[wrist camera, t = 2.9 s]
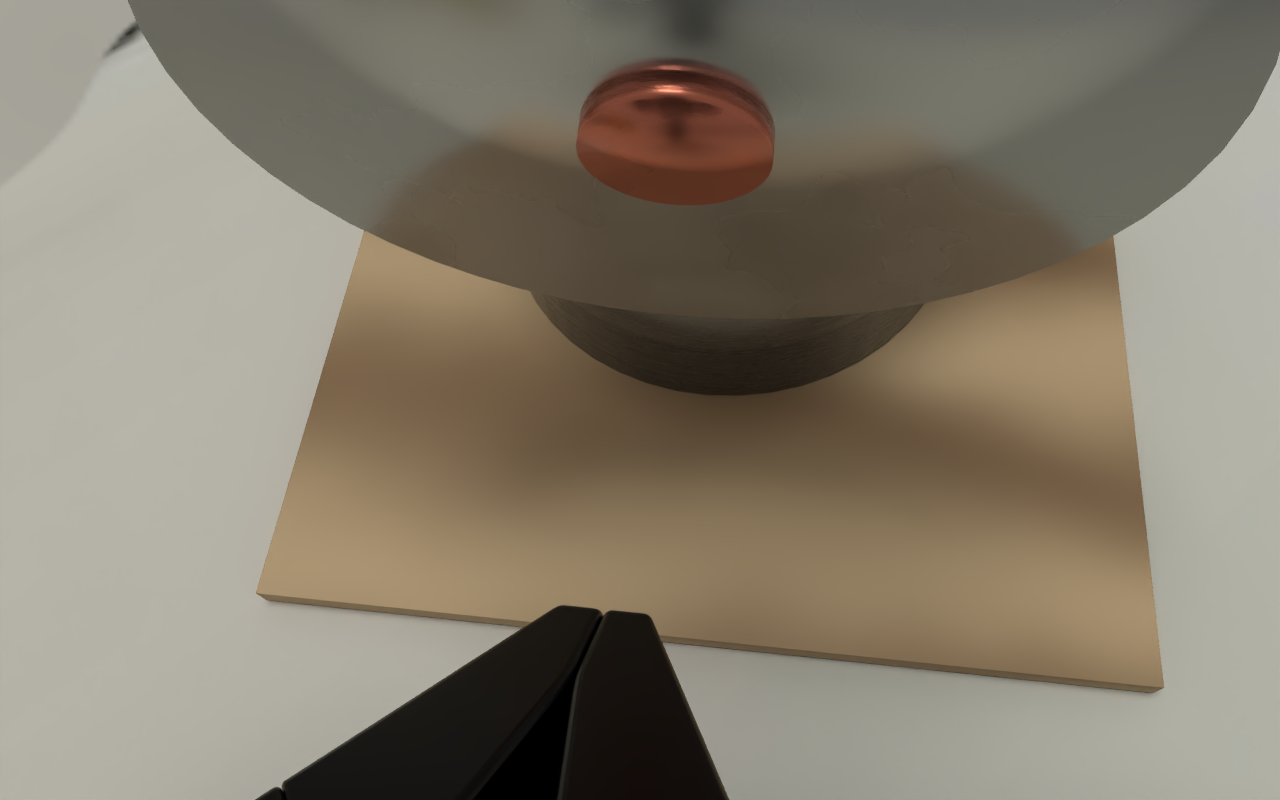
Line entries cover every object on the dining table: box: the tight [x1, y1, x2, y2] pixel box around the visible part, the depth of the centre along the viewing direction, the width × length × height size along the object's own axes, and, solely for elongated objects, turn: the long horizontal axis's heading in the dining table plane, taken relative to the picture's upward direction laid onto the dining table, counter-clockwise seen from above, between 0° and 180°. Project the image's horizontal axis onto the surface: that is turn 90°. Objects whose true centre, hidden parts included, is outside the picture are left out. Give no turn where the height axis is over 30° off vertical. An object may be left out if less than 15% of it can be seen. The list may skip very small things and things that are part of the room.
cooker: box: [530, 291, 925, 396], centre depth 24 cm, size 12×17×6 cm
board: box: [256, 230, 1164, 693], centre depth 27 cm, size 24×20×1 cm
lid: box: [128, 0, 1280, 319], centre depth 12 cm, size 13×13×2 cm
